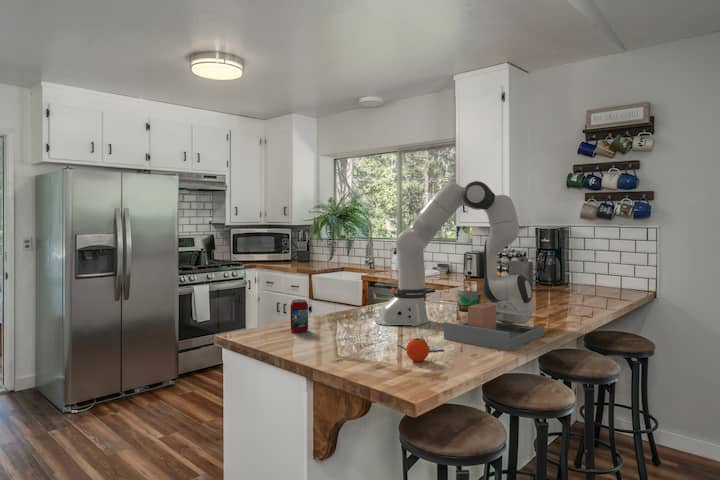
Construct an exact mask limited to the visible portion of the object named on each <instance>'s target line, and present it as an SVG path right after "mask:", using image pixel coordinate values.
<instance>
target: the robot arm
mask: <svg viewBox="0 0 720 480" xmlns="http://www.w3.org/2000/svg"><path fill="white" fill-rule="evenodd" d="M462 206H465V207H467V208H469V209H471V210H477V211H480V210H483V211H484V212H485V213H486V215H487V219H488V224H489V234H488V237H487V238H486V239H485V241H484V247H483V265H484V267H483V268H484V271H483V272H484V278H483V286H482V287H483V288H482V289H483V290H482V293H483V295H484V297H486V299H487V300H489V301H488V302H486V303H487V304H495V305H496V322H502V323H504V324H517V325H525V324H528V323H529V322H530V319H533V318H534V316H535V315H534V312H535V310H536V305H535V302H534V300H533V291H532V286H531V283H530V282H529V280H528V279H527V278H526V277H525V276H523V275H521V274H520V275H511V276H509V275H506V276H498V255H499V253H500V252H501V251H502V250H503V249H505V248H506V247H508V246H510V245H511V244H514V242H515V240H517V238H518V237H519V233H520V224H519V220H518V219H519V218H518V216H517V215H518V214H517V212H516V211H517V210H516V208H515V204H514V203H513V199H512V198H511V197H510V196H508V195H507V194H506V195H505V194H498V195H496V194H495V193H494V192H493V191H492V190H491V188H490V187H489V186H488V185H487V184H486V183H484V182H482V181H478V180H474V181H471V182H470V183H467V184H466V186H461V185H460V184H458V183H457V182H454V181H453V182H452V181H450V182H447V183H445V184H444V185H443V186H442V187H441V188H439V190H437V191H436V192H435V193H434V194H433V196H432V197H431V198H430V199H429V200H428V201H427V203H426V204H425V205H423V208H422V209H421V210H420V211H419V213H418V214H417V215H416V217H415V218H414V220H413V221H412V222H411V224H410V225H409V226H408V227H407V229H404V230H402V231H401V232H400V233H399V234H398V235H397V237H396V243H395V245H396V246H395V247H396V257H397V258H396V259H397V270H398V287H397V288H395V287H392V288H391V293H393V297H391V299H389V300H388V301H387V302H386V303H385V302H384V304H383V305H382V306H381V309H380V314H379V316H377V317H375V318H374V322H375V321H376V322H377V323H379V324H383V325H382V326H391V325H412V326H411V327H418V326H420V325H423V324H427V323H428V322H429V318H428V313H427V308H426V307H427V306H426V301H427V288H426V286H425V285H426V284H425V283H426V281H425V280H426V278H425V277H426V274H425V273H426V271H425V270H426V268H425V260H424V259H425V257H424V255H425V253H424V250H425V248H426V247H427V246H428V245H429V244H430V243H431V241H433V239H434V237H436V235H437V234H438V233H439V231H440V230H441V229H442V228H443V227H444V226H445V224H446V223H447V222H448V220H450V218H451V217H452V216H453V215H454V213H455V212H456V211H457V210H458V209H459V208H461V207H462ZM376 322H375V323H376ZM377 323H376V324H377ZM379 324H378V325H379Z"/></svg>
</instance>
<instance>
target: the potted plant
mask: <svg viewBox="0 0 720 480" xmlns="http://www.w3.org/2000/svg"><path fill="white" fill-rule="evenodd" d="M455 294H456V295H457V306H458V311H459V312H463V313H468V306H472V305H476V304H480V303H481V297H482V295H483V290H481V289H480V290H461V289H456V291H455Z"/></svg>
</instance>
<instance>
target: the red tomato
mask: <svg viewBox="0 0 720 480" xmlns="http://www.w3.org/2000/svg"><path fill="white" fill-rule="evenodd" d="M424 340H425V339H424ZM424 340H422V339H421V338H420V337H416V338H413V339H411V340H410V341H408V342H409V343H408V345H406V347H405V348H406V349H405V350H406V355H407V357H408V358H409V359H410V360H411V361H413V362H423V361H424V360H426V359H427V358H428V357H429V356H428V355H429V353H430V352H429V350H430V347H429V344H428V343H426V342H425V341H426V340H425V341H424Z"/></svg>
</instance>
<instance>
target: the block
mask: <svg viewBox="0 0 720 480" xmlns="http://www.w3.org/2000/svg"><path fill="white" fill-rule="evenodd" d="M487 303H488V302H486V303H485V302H480V304H476V305H472V306H468V312H467V322H468V326H473V327H479V328H485V329H491V330H496V322H497V320H496V305H495V304H487Z"/></svg>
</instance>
